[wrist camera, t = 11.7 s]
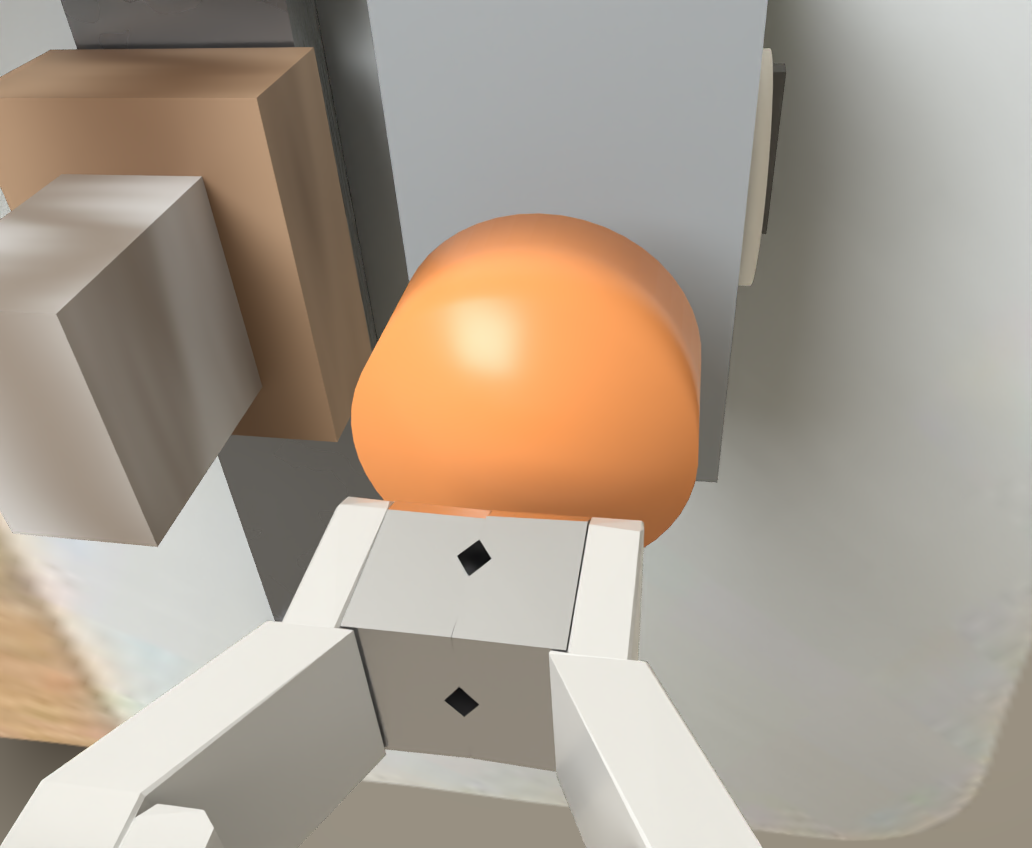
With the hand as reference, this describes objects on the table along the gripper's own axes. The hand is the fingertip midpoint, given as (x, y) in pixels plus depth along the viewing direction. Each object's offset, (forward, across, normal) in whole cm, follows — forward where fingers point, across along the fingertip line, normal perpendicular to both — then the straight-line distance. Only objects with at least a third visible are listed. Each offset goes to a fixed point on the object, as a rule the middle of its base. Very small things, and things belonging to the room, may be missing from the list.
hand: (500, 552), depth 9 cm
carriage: (+12, +9, +2) cm, 15 cm away
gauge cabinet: (+14, 0, 0) cm, 14 cm away
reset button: (+4, 0, 0) cm, 4 cm away
